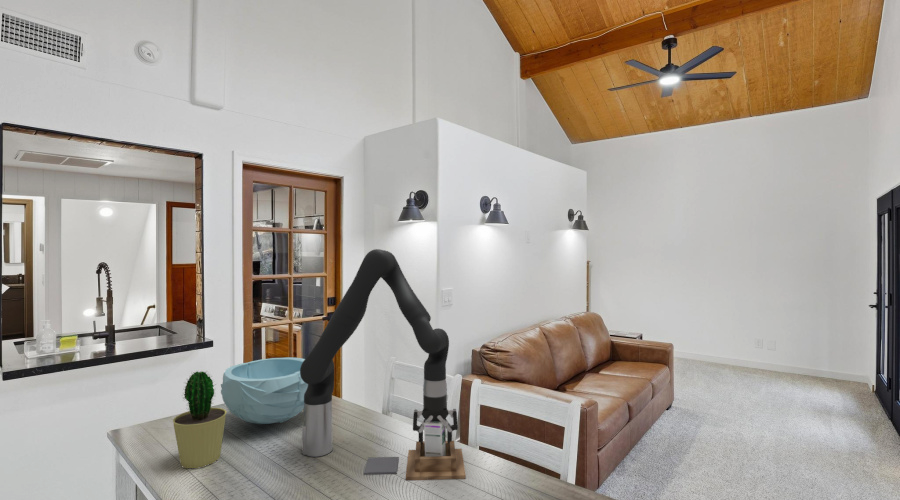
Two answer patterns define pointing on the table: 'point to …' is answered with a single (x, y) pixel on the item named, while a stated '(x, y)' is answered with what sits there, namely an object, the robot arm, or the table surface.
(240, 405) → the bowl
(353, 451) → the table surface
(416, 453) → the collar stand
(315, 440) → the robot arm
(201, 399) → the potted cactus
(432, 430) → the syrup box
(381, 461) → the felt pad
